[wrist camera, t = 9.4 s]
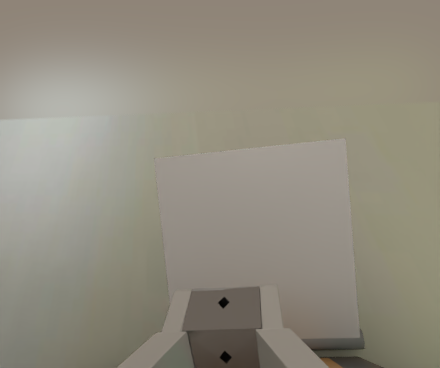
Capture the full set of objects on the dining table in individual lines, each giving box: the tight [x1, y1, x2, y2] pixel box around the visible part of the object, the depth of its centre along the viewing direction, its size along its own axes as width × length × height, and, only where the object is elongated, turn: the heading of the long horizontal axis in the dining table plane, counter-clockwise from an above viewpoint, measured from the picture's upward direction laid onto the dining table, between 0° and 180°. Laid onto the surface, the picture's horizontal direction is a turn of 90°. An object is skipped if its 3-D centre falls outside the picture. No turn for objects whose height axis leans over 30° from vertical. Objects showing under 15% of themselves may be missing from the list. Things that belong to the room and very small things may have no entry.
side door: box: [154, 138, 364, 350], centre depth 20 cm, size 12×2×13 cm
